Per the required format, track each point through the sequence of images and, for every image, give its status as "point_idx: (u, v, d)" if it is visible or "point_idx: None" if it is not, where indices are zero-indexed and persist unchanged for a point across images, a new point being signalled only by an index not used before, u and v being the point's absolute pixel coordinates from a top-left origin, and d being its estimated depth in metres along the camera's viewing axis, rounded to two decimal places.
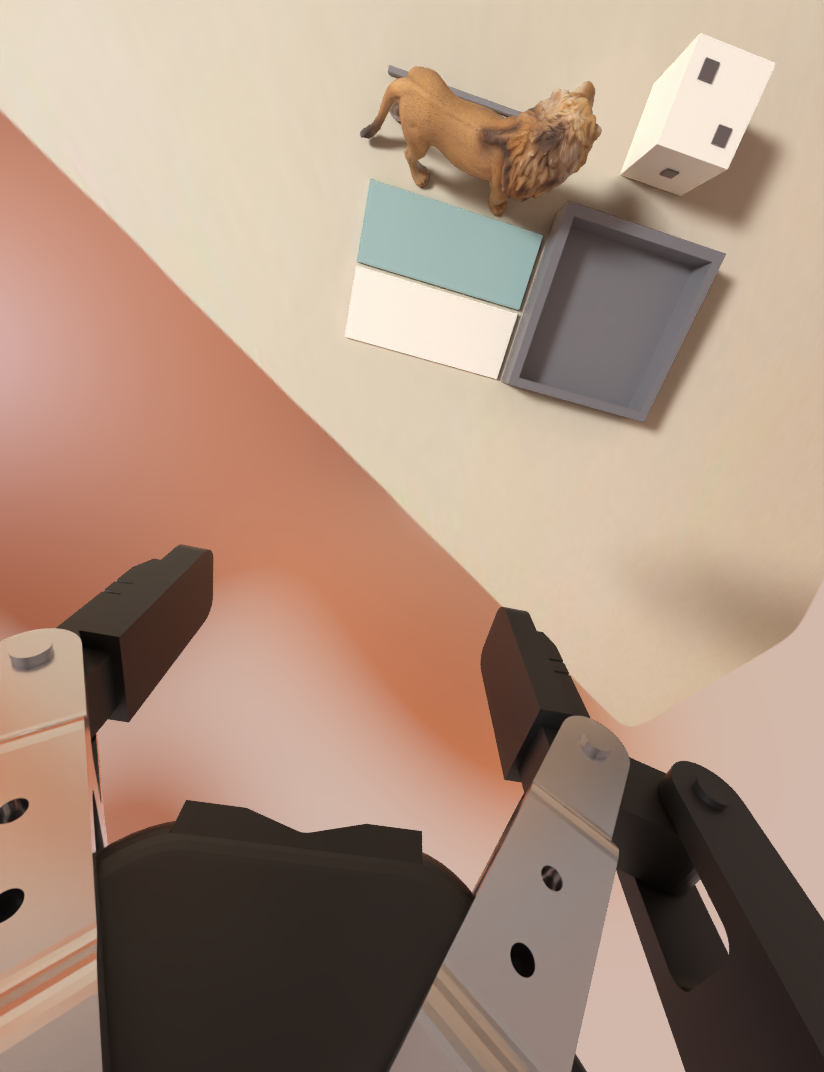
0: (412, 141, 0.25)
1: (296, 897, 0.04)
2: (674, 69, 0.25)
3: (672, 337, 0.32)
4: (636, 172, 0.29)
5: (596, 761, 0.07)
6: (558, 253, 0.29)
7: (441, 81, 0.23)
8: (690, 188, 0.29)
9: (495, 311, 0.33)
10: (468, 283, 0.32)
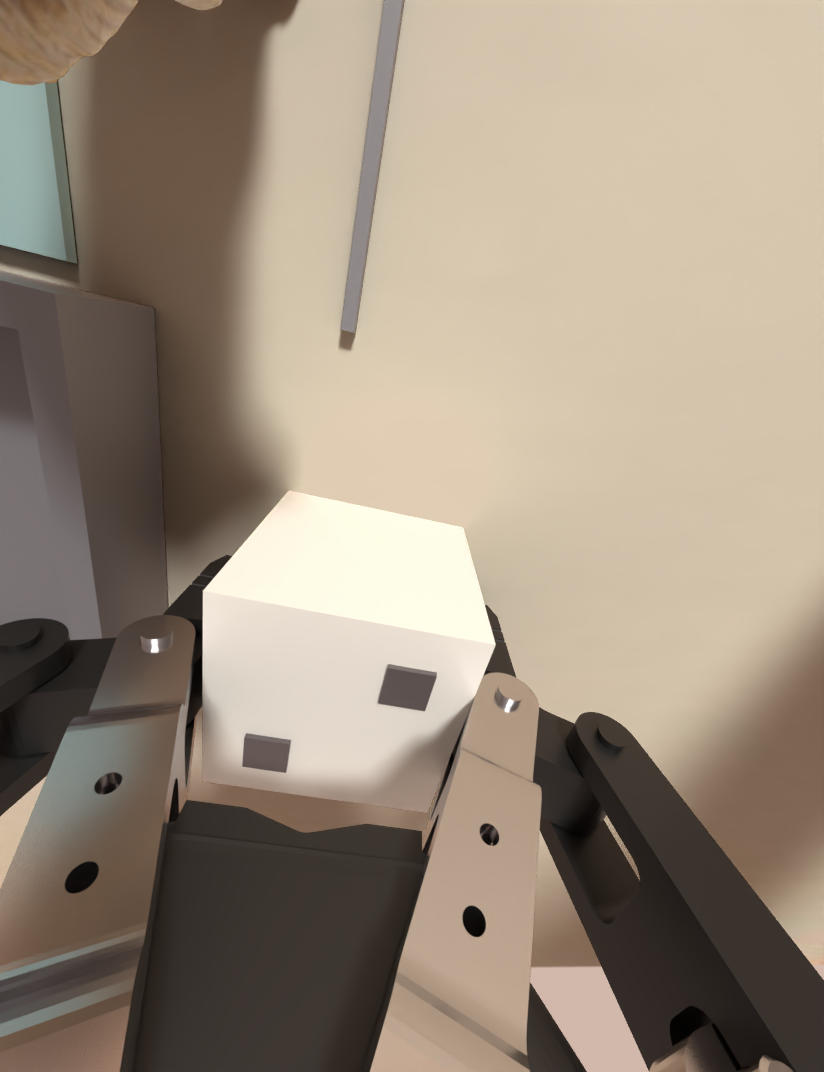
0: None
1: (296, 897, 0.04)
2: (452, 578, 0.09)
3: None
4: None
5: (505, 709, 0.07)
6: None
7: None
8: None
9: None
10: None
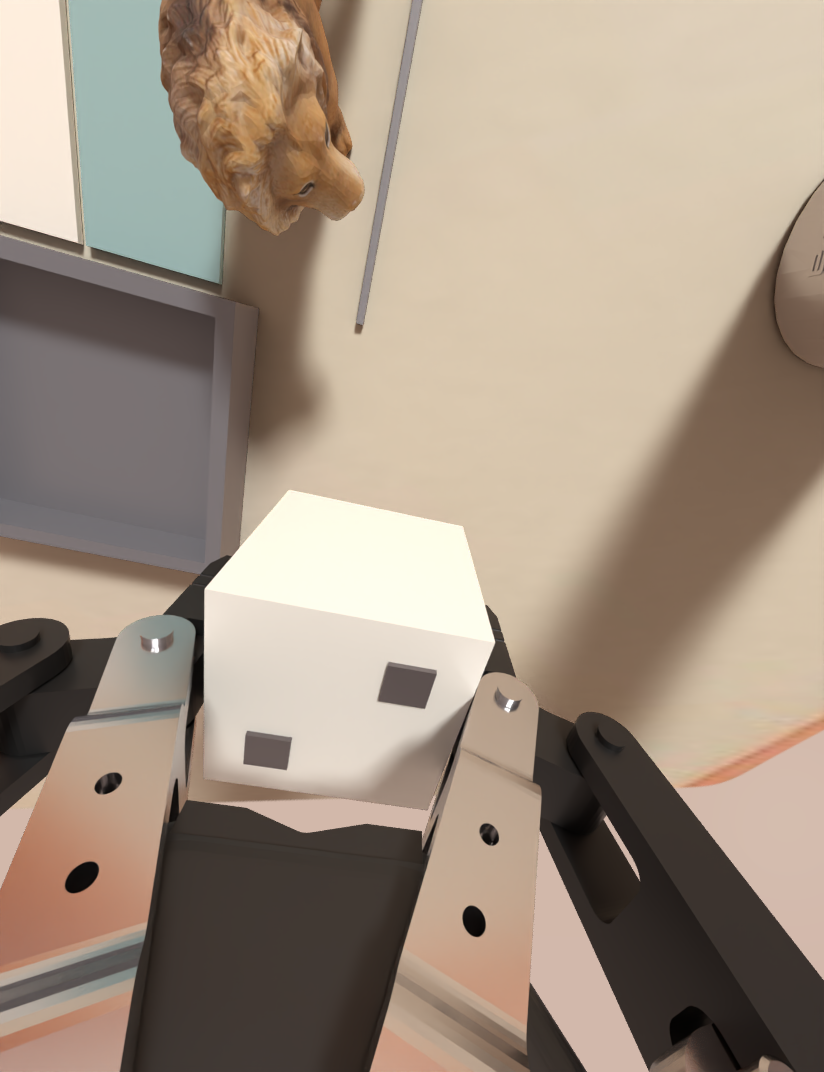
0: None
1: (296, 897, 0.04)
2: (452, 576, 0.09)
3: (97, 537, 0.19)
4: None
5: (505, 709, 0.07)
6: (151, 293, 0.15)
7: None
8: None
9: (65, 183, 0.15)
10: (97, 101, 0.14)
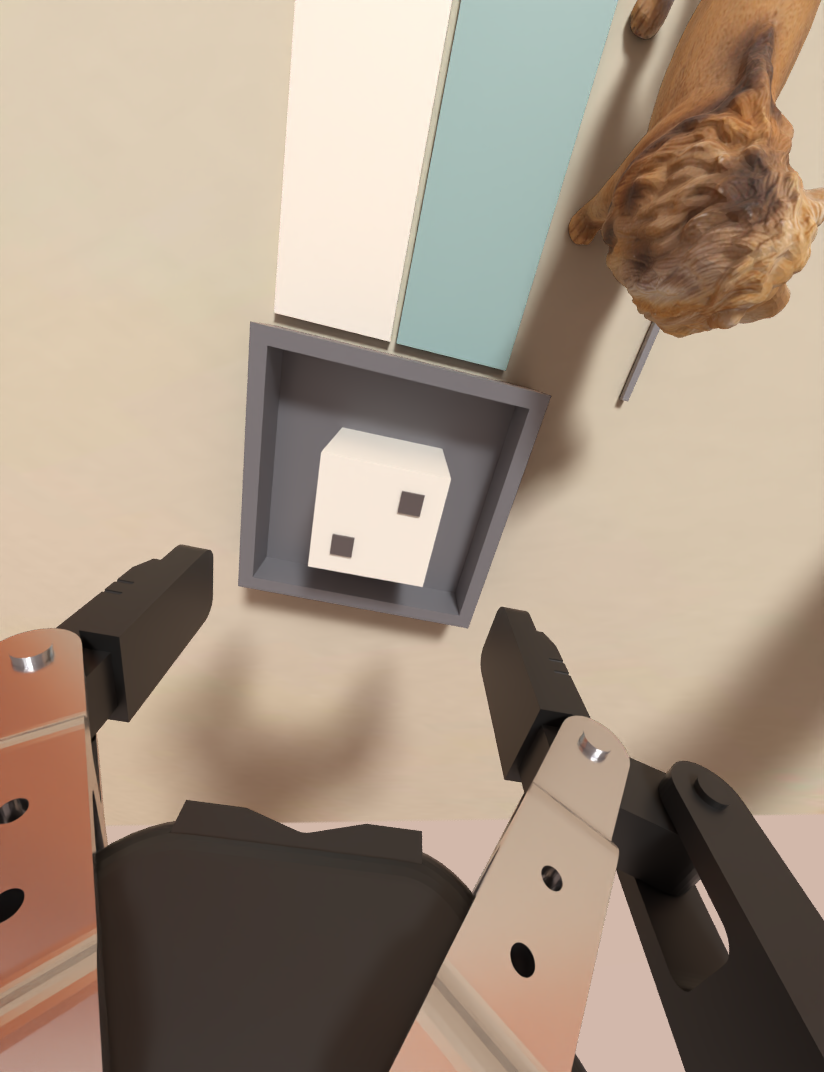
0: None
1: (296, 897, 0.04)
2: (433, 462, 0.17)
3: (365, 593, 0.21)
4: None
5: (596, 761, 0.07)
6: (478, 391, 0.17)
7: None
8: None
9: (391, 293, 0.17)
10: (437, 224, 0.16)
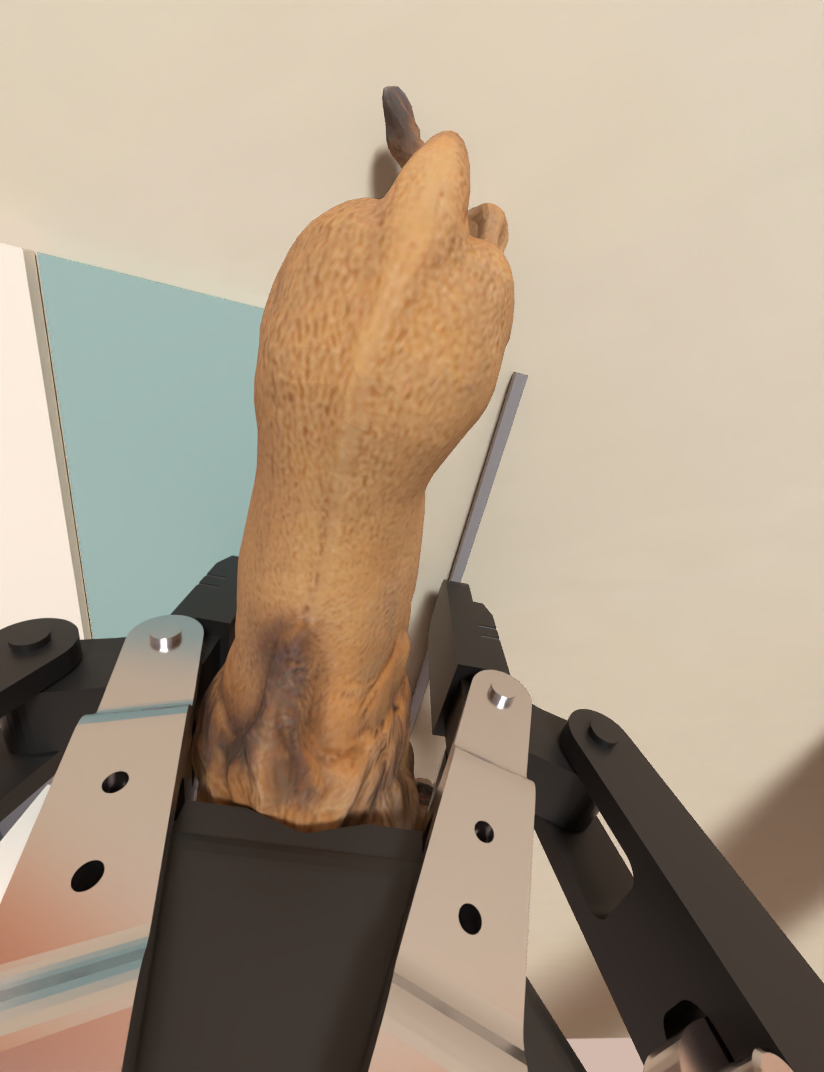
0: None
1: (296, 897, 0.04)
2: None
3: None
4: None
5: (498, 706, 0.07)
6: None
7: (443, 439, 0.04)
8: None
9: None
10: (111, 594, 0.13)
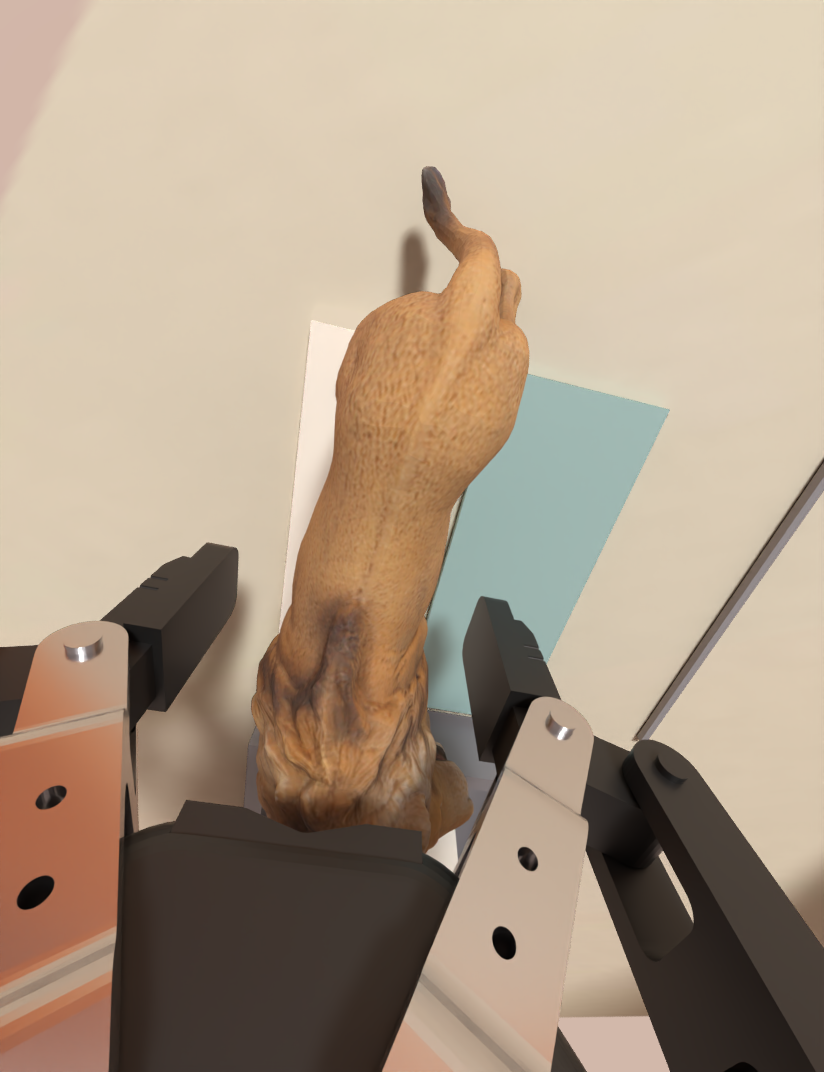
0: None
1: (296, 897, 0.04)
2: (442, 852, 0.16)
3: None
4: None
5: (560, 738, 0.07)
6: None
7: (475, 467, 0.06)
8: None
9: None
10: (447, 621, 0.15)
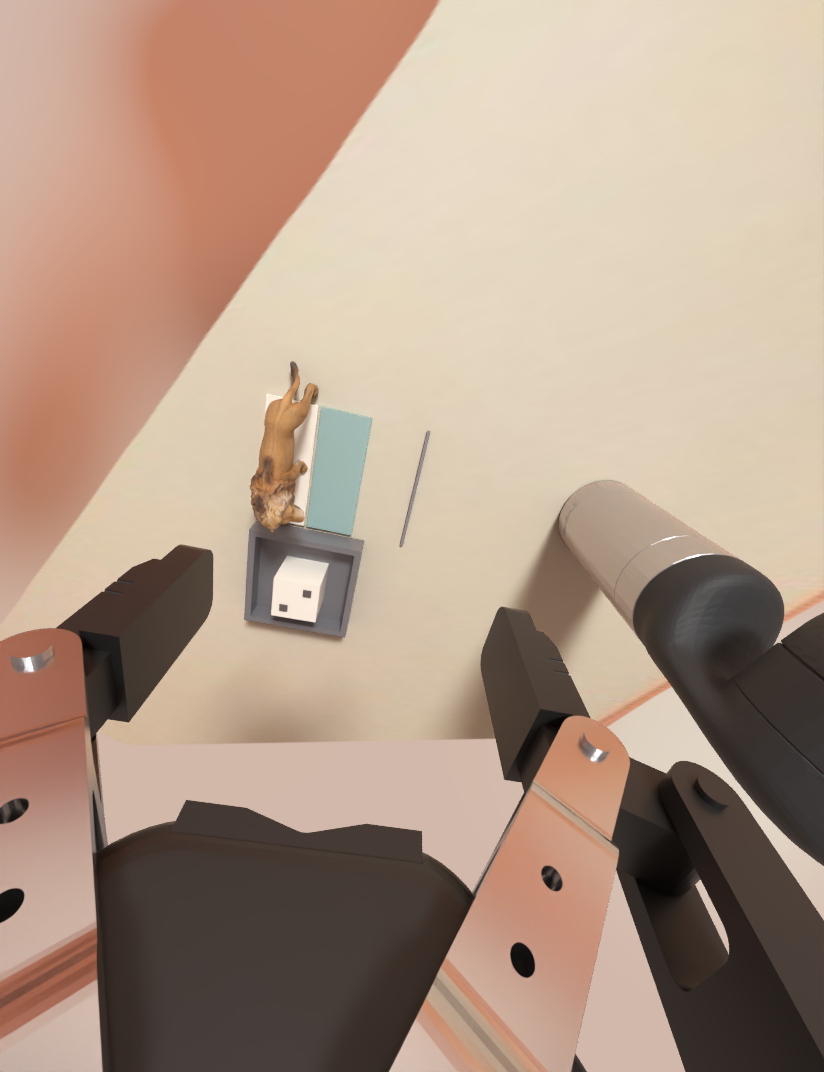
0: None
1: (296, 897, 0.04)
2: (318, 575, 0.45)
3: (299, 622, 0.49)
4: None
5: (596, 761, 0.07)
6: (334, 550, 0.45)
7: (288, 429, 0.35)
8: None
9: (303, 510, 0.45)
10: (317, 490, 0.44)
